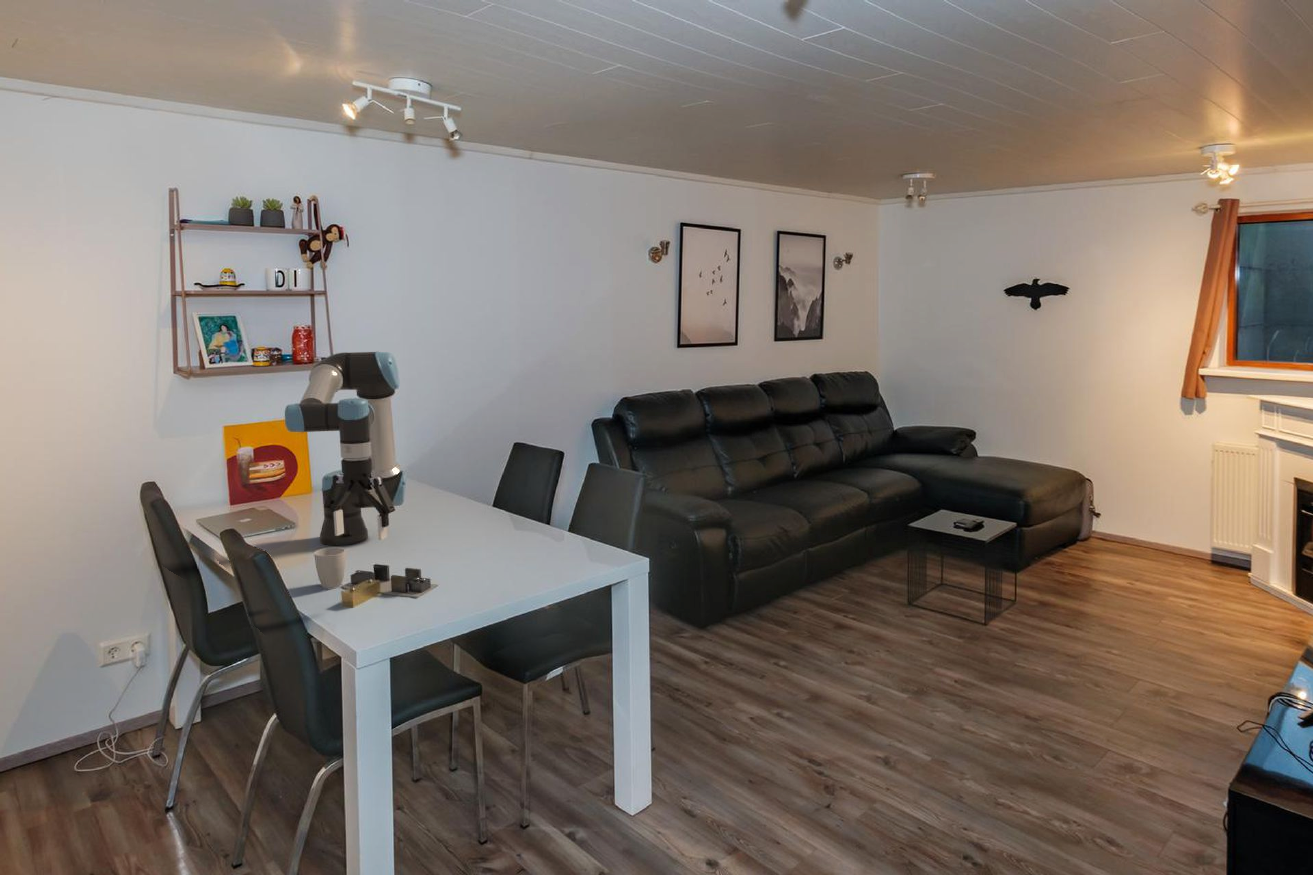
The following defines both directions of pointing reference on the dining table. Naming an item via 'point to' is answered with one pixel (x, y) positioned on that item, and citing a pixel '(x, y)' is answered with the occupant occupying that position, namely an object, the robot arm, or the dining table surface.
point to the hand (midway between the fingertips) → (361, 536)
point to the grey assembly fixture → (394, 579)
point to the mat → (387, 590)
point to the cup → (330, 566)
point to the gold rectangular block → (361, 593)
